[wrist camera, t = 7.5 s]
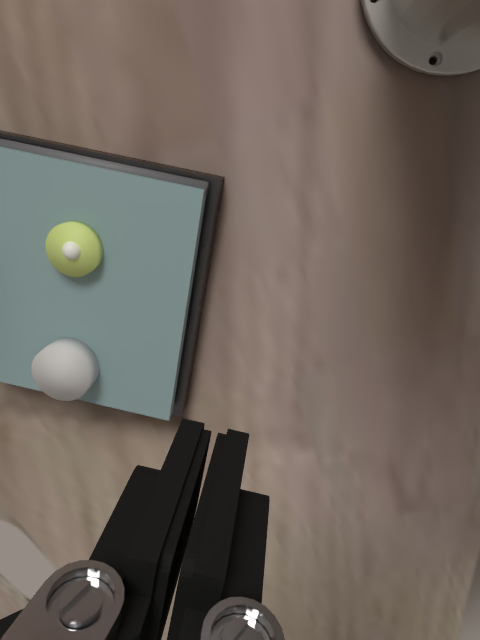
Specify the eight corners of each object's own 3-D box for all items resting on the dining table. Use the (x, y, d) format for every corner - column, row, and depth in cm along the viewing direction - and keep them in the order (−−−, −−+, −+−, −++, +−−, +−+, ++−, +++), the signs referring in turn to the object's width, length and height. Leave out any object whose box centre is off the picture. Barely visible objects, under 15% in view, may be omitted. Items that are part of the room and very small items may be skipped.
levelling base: (-12, 128, 35) (-29, 127, 34) (224, 176, 35) (220, 178, 33) (-6, 361, 43) (-20, 371, 41) (186, 405, 43) (181, 417, 41)
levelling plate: (-22, 133, 33) (-59, 131, 30) (209, 181, 33) (199, 185, 29) (-15, 366, 41) (-43, 386, 37) (173, 410, 40) (162, 434, 37)
